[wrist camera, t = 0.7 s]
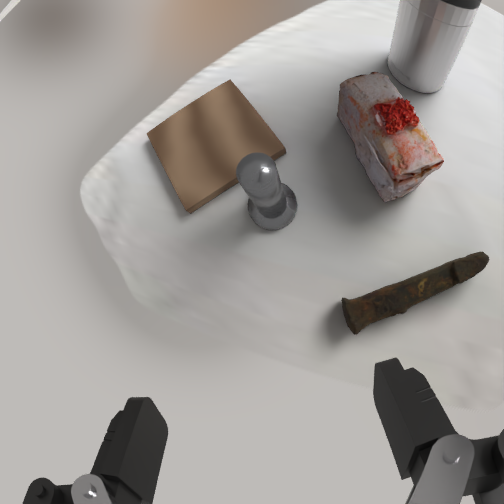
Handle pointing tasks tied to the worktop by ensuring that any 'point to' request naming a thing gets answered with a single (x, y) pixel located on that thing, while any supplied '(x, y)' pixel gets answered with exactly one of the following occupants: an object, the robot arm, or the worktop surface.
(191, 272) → the worktop surface
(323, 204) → the worktop surface
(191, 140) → the walnut board
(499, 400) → the worktop surface
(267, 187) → the round metal knob
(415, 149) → the food item
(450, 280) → the hand tool
